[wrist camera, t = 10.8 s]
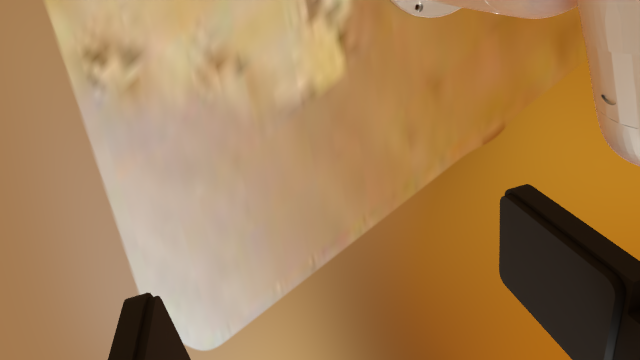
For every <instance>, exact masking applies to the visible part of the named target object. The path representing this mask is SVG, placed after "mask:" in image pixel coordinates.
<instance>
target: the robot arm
mask: <svg viewBox="0 0 640 360" xmlns="http://www.w3.org/2000/svg"><path fill="white" fill-rule="evenodd" d="M391 1H392V2H393V3H394V4H395V5H396V6H397V7H399V8H400V9H401V10H403V11H405V12H407V13H409V14H412V15H415V16H419V17H427V18H433V17H441V16H445V15H448V14H451V13H453V12H455V11H457V10H459V9H461V8H462V7H463V8H468V9H474V10H479V11H485V12H491V13H496V14H502V15H508V16H515V17H521V18H531V19H538V18H547V17H552V16H555V15H558V14H561V13H564V12H566V11H569V10H571V9H573V8H575V7H577V6H578V9H579V13H580V19H581V25H582V32H583V36H584V38H585V43H586V50H587V56H588V63H589V69H590V76H591V83H592V89H593V96H594V101H595V105H596V112H597V117H598V121H599V125H600V128H601V131H602V134H603V136H604V138H605V140H606V141H607V143H608V144H609V146H610V147H611V148H612V149H613V150H614V151H615V152H616V153H617V154H618V155H620V156H621V157H622V158H624V159H626V160H627V161H629V162H631V163H633V164H636V165H638V166H640V0H391ZM416 4H417V5H418V8H417V9H416V10H415V6H416ZM499 262H500V263H499V272H500V277H501V279H502V281H503V283H504V284H505V286H506V287H507V288H508V289H509V290H510V291H511V292H512V293H513V294H514V296H515V297H516V298H517V299H518V300H519V301H520V302H521V303H522V304H523V305H524V307H526V309H527V310H528V311H529V312H530V313H531V314H532V315H533V317H534V318H535V319H536V320H537V321H538V322H539V323H540V324H541V325H542V327H543V328H544V329H545V330H546V331H547V332H548V333H549V334H550V335H551V336H552V338H553V339H554V340H555V341H556V342H557V343H558V344H559V345H560V346H561V347H562V349H563V350H564V351H565V352H566V353H567V354H568V355H569V356H570V358H571V359H572V360H640V261H638V260H637V259H636V258H634V257H633V256H631V255H630V254H628V253H627V252H626V251H624V250H623V249H621V248H620V247H619V246H617V245H616V244H614V243H613V242H611V241H610V240H609V239H607V238H606V237H604V236H603V235H601V234H600V233H599V232H597V231H596V230H594V229H593V228H591V227H590V226H589V225H587V224H586V223H584V222H583V221H581V220H580V219H579V218H577V217H576V216H574V215H573V214H571V213H570V212H569V211H567V210H565V209H564V208H563V207H561V206H560V205H558V204H557V203H556V202H554V201H553V200H551V199H550V198H548V197H547V196H546V195H544V194H543V193H541V192H540V191H538V190H537V189H535V188H534V187H533V186H531V185H528V184H526V185H522V186H518V187H516V188H511V189H508V190H507V191H506V192H505V196H503V197H502V198H501V200H500V258H499ZM108 360H191V359H190V357H189V355H188V353H187V351H186V349H185V347H184V345H183V343H182V341H181V339H180V336H179V334H178V332H177V330H176V328H175V326H174V324H173V322H172V320H171V318H170V316H169V314H168V312H167V310H166V308H165V306H164V304H163V301H162V299H161V298H160V297H159V296H155V297H153V296H152V295H151V294H150V293H145V294H142V295H138V296H135V297H131V298H128V299H126V300H125V301H124V303H123V307H122V310H121V314H120V318H119V321H118V325H117V329H116V333H115V336H114V339H113V343H112V347H111V351H110V354H109V358H108Z"/></svg>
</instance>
